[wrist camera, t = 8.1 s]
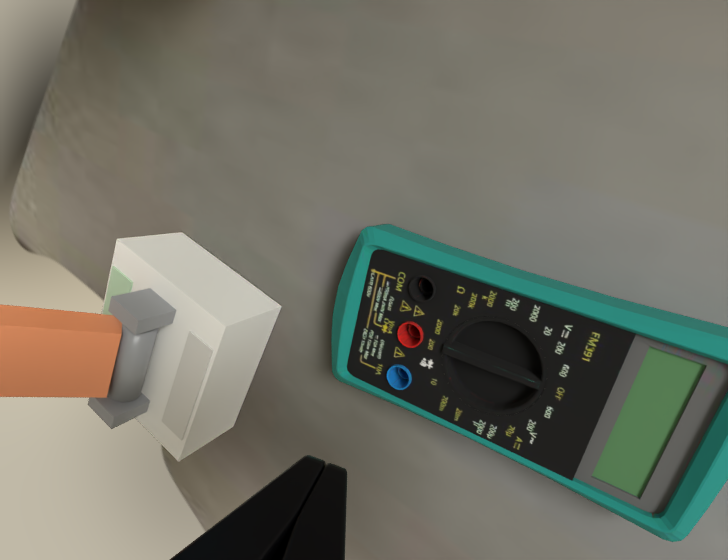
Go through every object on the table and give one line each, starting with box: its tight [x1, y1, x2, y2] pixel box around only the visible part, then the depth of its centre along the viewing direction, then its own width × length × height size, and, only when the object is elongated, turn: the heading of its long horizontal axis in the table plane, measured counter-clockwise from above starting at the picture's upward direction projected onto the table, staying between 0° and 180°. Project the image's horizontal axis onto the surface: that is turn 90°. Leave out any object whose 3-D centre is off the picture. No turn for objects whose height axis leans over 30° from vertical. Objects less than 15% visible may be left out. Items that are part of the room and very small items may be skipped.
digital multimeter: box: [331, 224, 728, 542], centre depth 17 cm, size 7×15×3 cm, turn 77°
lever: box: [0, 305, 159, 402], centre depth 20 cm, size 2×4×11 cm
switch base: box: [88, 232, 282, 462], centre depth 24 cm, size 8×9×6 cm
